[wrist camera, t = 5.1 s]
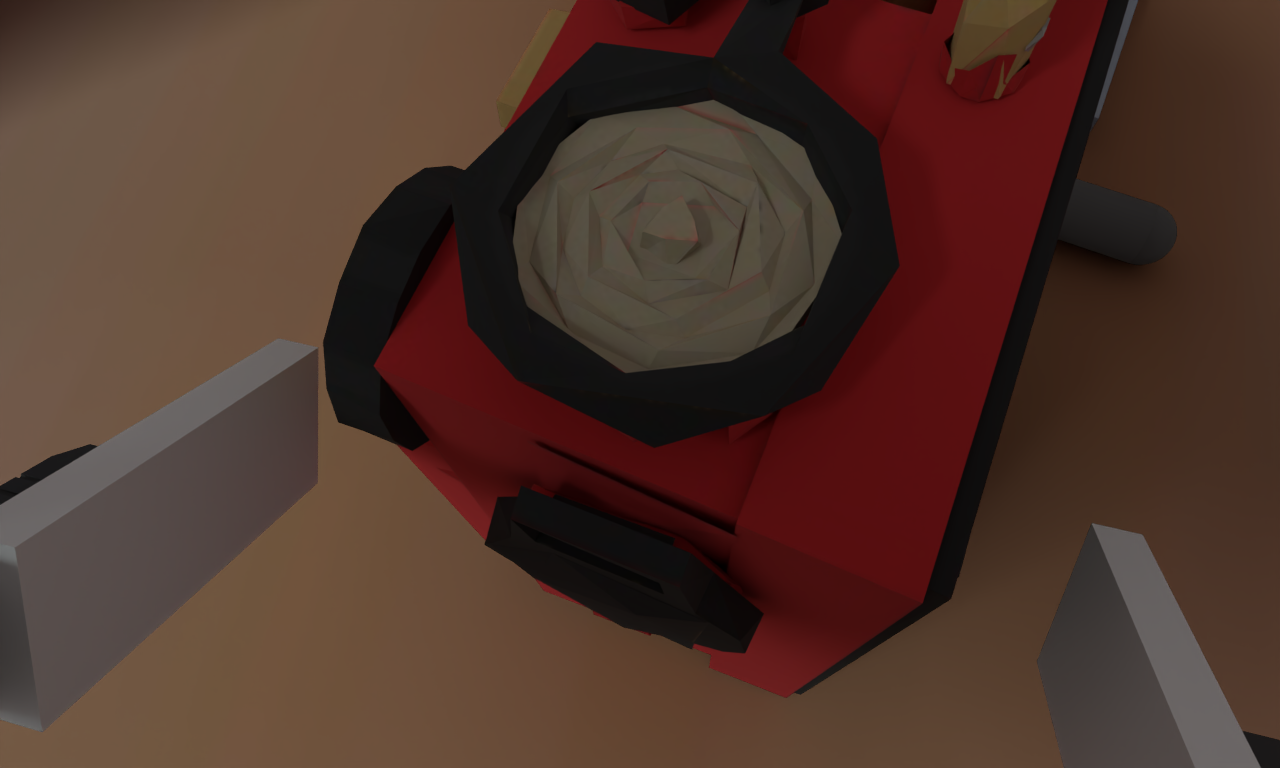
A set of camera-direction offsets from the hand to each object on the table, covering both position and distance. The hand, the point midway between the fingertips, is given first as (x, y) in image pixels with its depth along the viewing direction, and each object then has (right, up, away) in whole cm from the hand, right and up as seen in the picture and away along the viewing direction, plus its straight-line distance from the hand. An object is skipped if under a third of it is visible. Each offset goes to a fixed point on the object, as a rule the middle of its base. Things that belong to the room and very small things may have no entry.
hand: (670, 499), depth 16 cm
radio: (+2, 0, +15) cm, 15 cm away
